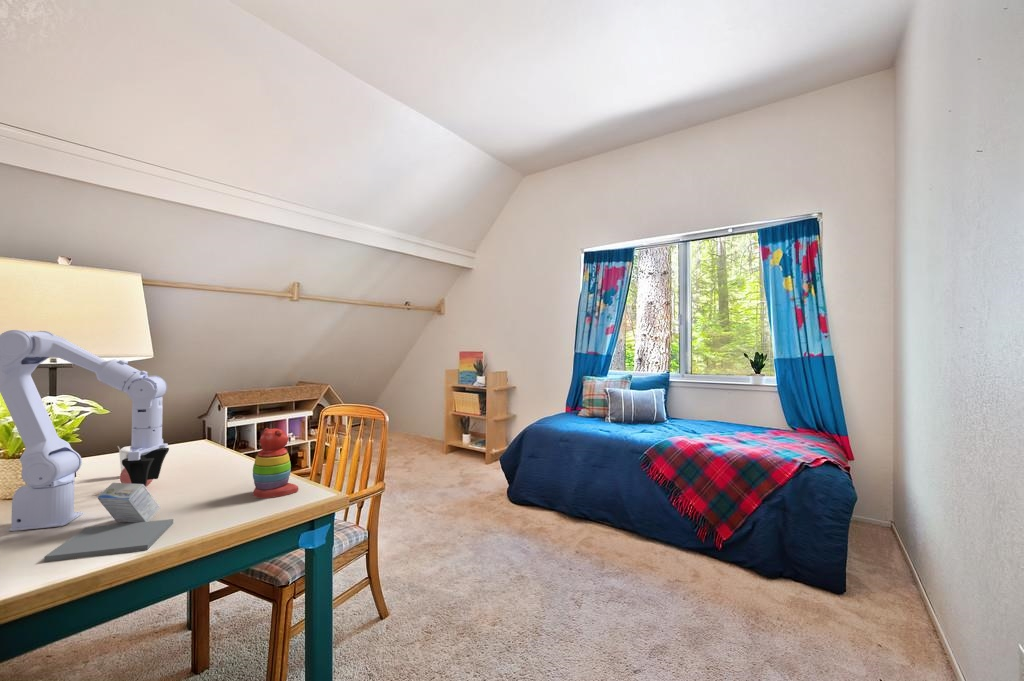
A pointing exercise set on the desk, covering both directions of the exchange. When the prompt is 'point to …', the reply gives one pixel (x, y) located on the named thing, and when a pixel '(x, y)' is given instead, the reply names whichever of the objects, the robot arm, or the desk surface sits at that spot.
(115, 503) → the medicine box
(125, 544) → the mat
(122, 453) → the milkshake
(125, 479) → the apple
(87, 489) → the desk surface
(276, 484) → the stacking bear
